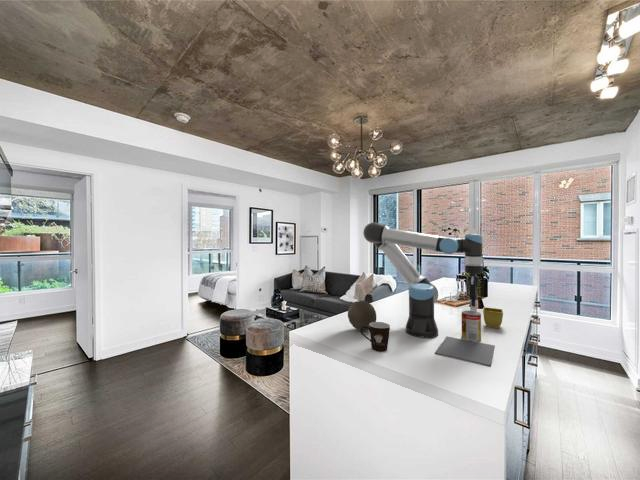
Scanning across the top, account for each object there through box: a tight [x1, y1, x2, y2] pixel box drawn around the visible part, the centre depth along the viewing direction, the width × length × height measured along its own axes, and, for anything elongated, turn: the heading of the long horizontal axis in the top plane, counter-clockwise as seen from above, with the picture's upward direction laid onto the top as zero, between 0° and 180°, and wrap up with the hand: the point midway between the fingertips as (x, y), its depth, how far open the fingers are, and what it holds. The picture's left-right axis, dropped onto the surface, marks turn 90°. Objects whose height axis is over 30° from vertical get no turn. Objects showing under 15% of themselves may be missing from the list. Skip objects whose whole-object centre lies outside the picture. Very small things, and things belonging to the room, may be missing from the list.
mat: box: [434, 336, 496, 367], centre depth 112 cm, size 19×23×1 cm
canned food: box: [461, 310, 482, 342], centre depth 126 cm, size 8×8×12 cm
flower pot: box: [482, 306, 504, 329], centre depth 143 cm, size 9×9×9 cm
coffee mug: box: [359, 321, 391, 353], centre depth 115 cm, size 12×9×10 cm
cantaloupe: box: [347, 300, 377, 332], centre depth 136 cm, size 14×14×15 cm
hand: (473, 312), depth 134 cm, fingers closed
